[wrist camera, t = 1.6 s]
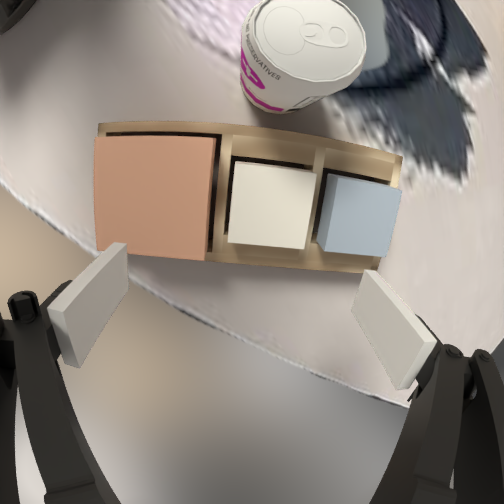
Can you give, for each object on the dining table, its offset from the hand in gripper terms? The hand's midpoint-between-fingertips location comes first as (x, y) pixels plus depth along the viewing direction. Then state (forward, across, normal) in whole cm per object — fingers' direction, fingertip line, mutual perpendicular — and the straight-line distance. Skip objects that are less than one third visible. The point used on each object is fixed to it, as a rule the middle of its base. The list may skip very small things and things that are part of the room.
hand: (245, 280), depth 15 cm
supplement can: (+18, +2, +15) cm, 23 cm away
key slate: (+15, +11, +2) cm, 19 cm away
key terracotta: (+15, -9, +1) cm, 17 cm away
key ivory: (+15, +2, +2) cm, 15 cm away
